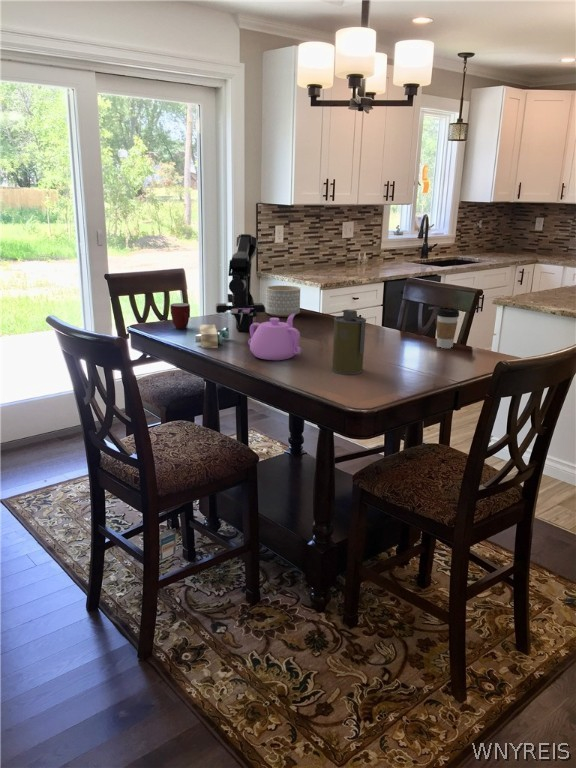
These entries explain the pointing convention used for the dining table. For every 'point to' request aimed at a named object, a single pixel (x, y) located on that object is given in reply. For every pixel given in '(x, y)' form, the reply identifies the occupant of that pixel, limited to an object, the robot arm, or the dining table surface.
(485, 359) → the dining table surface
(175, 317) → the mug
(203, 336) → the mount
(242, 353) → the dining table surface
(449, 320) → the coffee cup
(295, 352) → the teapot
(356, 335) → the canister
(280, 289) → the planter
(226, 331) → the knob
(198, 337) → the knob
